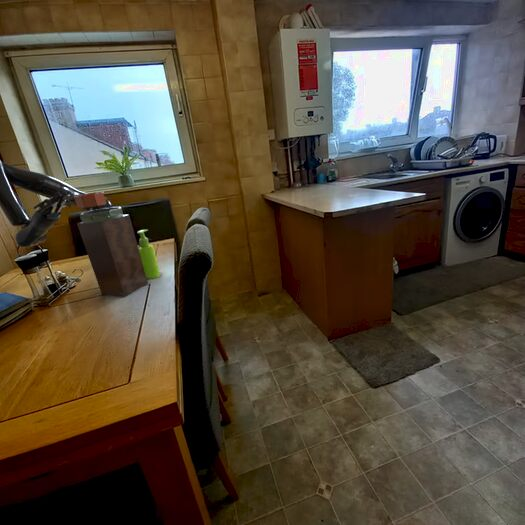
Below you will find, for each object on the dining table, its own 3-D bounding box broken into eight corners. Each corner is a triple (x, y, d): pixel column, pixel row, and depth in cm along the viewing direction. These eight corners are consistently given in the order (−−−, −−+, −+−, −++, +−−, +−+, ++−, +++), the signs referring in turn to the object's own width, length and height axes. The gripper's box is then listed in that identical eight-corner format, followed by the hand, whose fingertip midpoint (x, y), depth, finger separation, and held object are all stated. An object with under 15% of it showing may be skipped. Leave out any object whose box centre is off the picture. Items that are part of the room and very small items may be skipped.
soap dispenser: (163, 271, 123) (152, 227, 116) (156, 278, 116) (144, 232, 109) (151, 272, 124) (139, 229, 116) (143, 279, 117) (130, 233, 110)
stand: (125, 280, 118) (103, 207, 107) (149, 282, 113) (128, 206, 102) (99, 295, 106) (71, 215, 95) (125, 297, 102) (98, 213, 91)
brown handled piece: (71, 205, 109) (68, 194, 108) (112, 202, 102) (108, 191, 100) (49, 209, 102) (44, 198, 100) (90, 207, 94) (86, 194, 92)
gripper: (20, 213, 104) (36, 187, 96) (56, 206, 116) (73, 182, 108) (33, 230, 105) (50, 205, 97) (67, 221, 117) (86, 198, 109)
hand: (62, 193), depth 102 cm, fingers closed on brown handled piece, 2 cm apart
